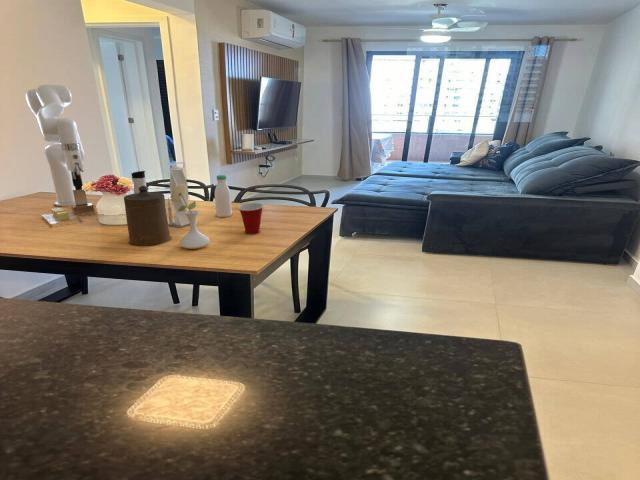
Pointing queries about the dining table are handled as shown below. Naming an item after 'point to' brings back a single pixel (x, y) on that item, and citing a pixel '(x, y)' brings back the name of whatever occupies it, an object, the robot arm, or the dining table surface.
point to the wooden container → (146, 217)
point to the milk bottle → (222, 197)
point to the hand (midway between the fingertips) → (78, 186)
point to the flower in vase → (194, 236)
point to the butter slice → (62, 215)
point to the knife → (79, 196)
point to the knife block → (82, 209)
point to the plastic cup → (251, 216)
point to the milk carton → (180, 216)
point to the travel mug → (138, 180)
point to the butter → (57, 211)
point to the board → (53, 220)
